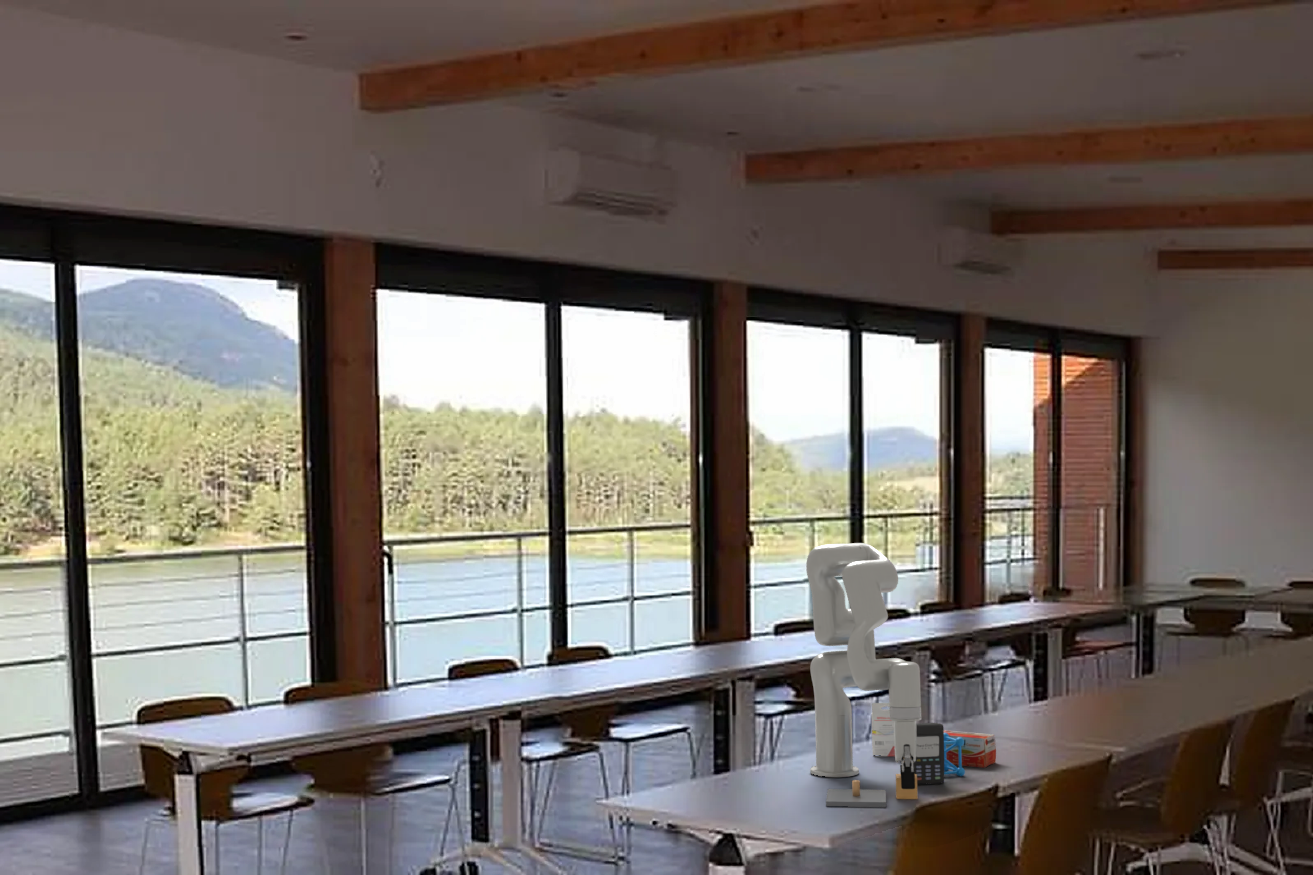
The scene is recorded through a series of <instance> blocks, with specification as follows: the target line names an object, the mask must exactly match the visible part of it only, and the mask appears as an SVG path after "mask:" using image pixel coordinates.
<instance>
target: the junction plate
mask: <svg viewBox="0 0 1313 875" xmlns="http://www.w3.org/2000/svg"><path fill="white" fill-rule="evenodd" d="M851 782H852V783H851V785H852V786H851V787H852V788H849V789H837V788H834V789H832V788H828V789H827V792H826V800H825V807H826V806H848V807H847V808H887V792H886V790H887V789H861V787H860V786H861V781H860V780H859V779H854V780H852V781H851Z"/></svg>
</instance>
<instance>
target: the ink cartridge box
mask: <svg viewBox="0 0 1313 875" xmlns="http://www.w3.org/2000/svg"><path fill="white" fill-rule="evenodd" d="M886 707H888V708H889V709H882V708H886ZM870 716H871V741H872V743H871V744H872V748H871V750H872V756H873V755H881V756H880V757H895V743H894V721H892V720H890V706H889V702H873V703H871V715H870Z"/></svg>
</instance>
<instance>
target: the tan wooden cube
mask: <svg viewBox="0 0 1313 875" xmlns="http://www.w3.org/2000/svg"><path fill="white" fill-rule="evenodd" d="M895 796H896V797H895V798H896V800H918V799H919V798H918V785H917V774H915V789H902V788H901V773H895Z"/></svg>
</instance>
